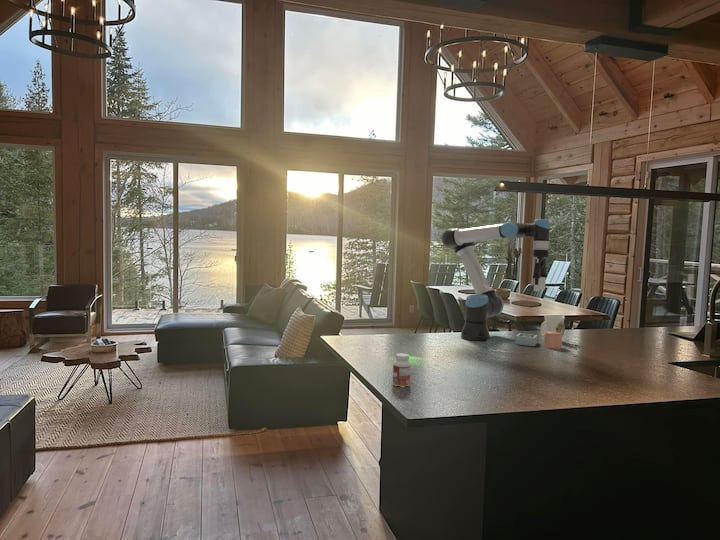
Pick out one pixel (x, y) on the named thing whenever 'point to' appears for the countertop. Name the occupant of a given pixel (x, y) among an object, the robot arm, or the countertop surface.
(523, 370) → the countertop surface
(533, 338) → the crate
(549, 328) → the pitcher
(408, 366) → the pill bottle
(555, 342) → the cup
